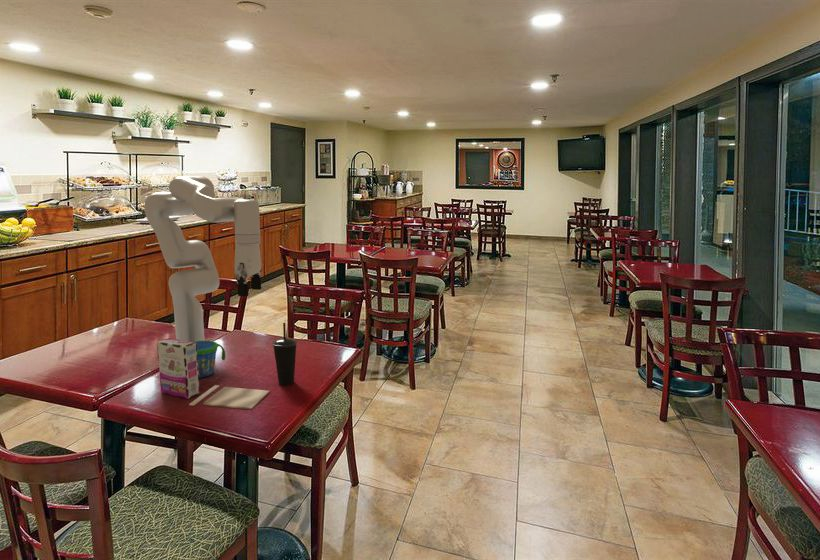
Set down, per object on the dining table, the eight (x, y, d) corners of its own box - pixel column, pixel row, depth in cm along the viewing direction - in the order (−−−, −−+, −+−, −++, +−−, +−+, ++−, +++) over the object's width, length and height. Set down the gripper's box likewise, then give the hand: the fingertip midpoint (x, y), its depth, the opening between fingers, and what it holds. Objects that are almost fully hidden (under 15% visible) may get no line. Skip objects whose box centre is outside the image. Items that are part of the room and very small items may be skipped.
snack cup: (222, 364, 177) (220, 337, 175) (230, 374, 169) (229, 345, 167) (173, 373, 168) (171, 344, 166) (180, 384, 160) (178, 354, 158)
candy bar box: (201, 393, 154) (197, 341, 151) (188, 399, 149) (184, 346, 146) (173, 387, 158) (169, 336, 155) (160, 393, 154) (155, 341, 150)
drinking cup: (276, 378, 166) (274, 319, 162) (299, 377, 167) (298, 319, 163) (271, 387, 159) (269, 326, 155) (296, 387, 159) (294, 326, 156)
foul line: (189, 405, 146) (188, 404, 146) (215, 385, 159) (214, 385, 159) (193, 405, 146) (193, 404, 146) (219, 386, 159) (219, 385, 159)
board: (202, 404, 146) (202, 403, 146) (224, 388, 158) (224, 386, 158) (251, 409, 144) (251, 407, 144) (269, 392, 155) (269, 390, 155)
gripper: (248, 235, 167) (250, 286, 171) (223, 242, 150) (226, 298, 154) (270, 236, 166) (271, 287, 170) (247, 243, 149) (249, 299, 153)
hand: (250, 292), depth 162 cm, fingers open, 9 cm apart
